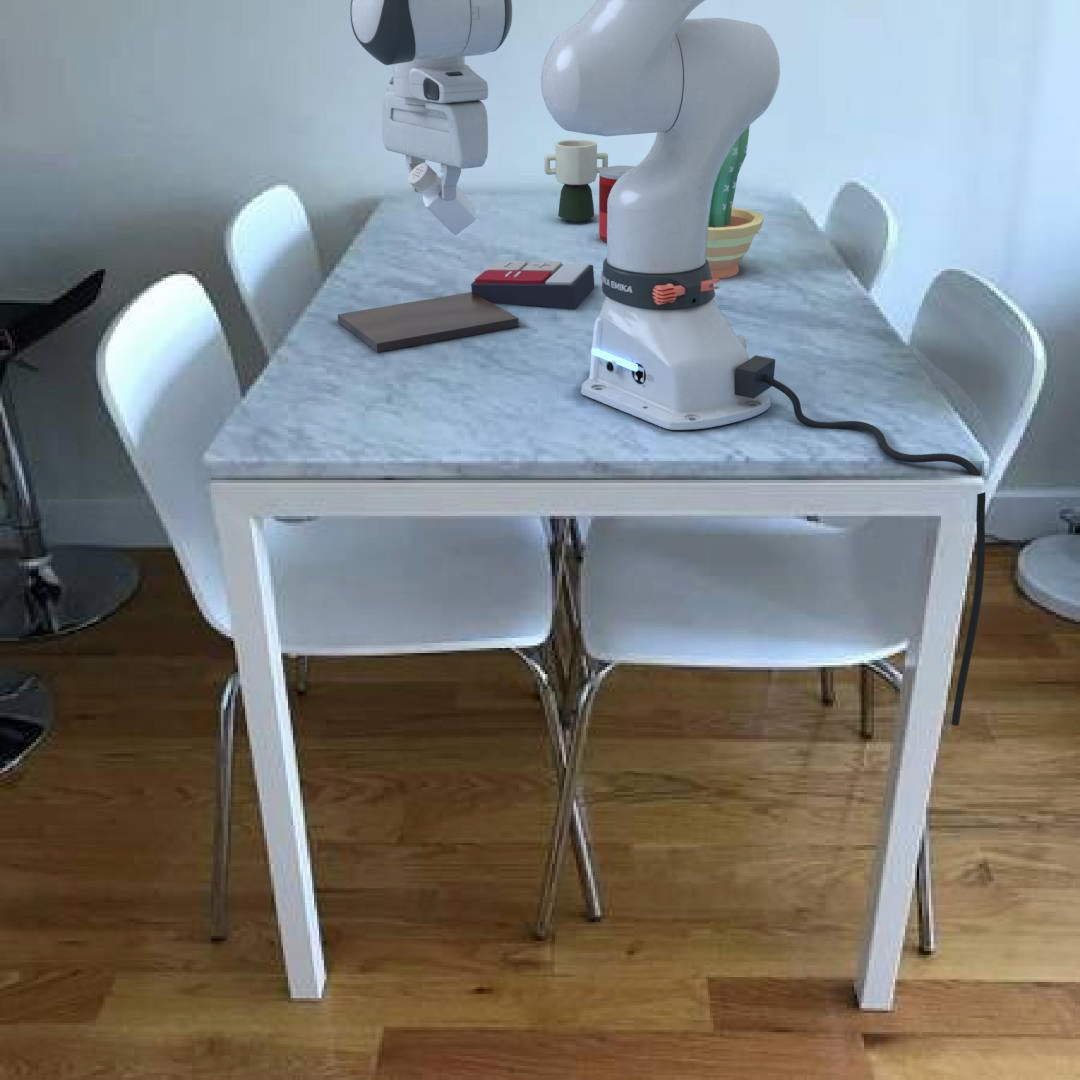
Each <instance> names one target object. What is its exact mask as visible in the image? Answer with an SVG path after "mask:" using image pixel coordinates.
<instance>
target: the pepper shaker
mask: <svg viewBox="0 0 1080 1080" xmlns="http://www.w3.org/2000/svg"><path fill="white" fill-rule="evenodd" d="M442 178H443V175H440V176H439V175H438V174H437V172H436V171H434V169H432V167H431V166H430V165H428V163H427V162H425V163H421V164H419V165H417V166H416V167H415V168H414V169H413V170H412V172H411V173H410V172H409V175H408V179H407V180H408V182H409V184H410V185H411V186H412V187H413V186H414V187H415V188H416V189H417V190H418V192H420V193H419V194H421V195H422V201H423V205H424V207H425V208H426V209H427V210H428V212H430V213H431V214H432V215H433V216H434V217H435V218H436V219H437V221H439V222H440V223H441V224H442V225H443V226H444V227H445V228H446V229H447V230H448V231H449V232H450V233H451V234H453V235H458V234H460V233H461V232H462V231H464V230H465V229H467V228H468V227H469V226H471V225H472V224H474V223H475V222H476V220H477V213H476V208H475V204H474V202H473V200H471V199H470V198H469V197H468V196H467V195H466V193H464V191H463V190H462V189H461V188H460V187H459V186H458V184H457V185H456V198H455V200H450V201H445V200H442V199H440V198H439V197H438V193H439V192H438V185H441V183H442ZM418 192H417V193H418Z"/></svg>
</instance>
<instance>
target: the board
mask: <svg viewBox="0 0 1080 1080" xmlns="http://www.w3.org/2000/svg"><path fill="white" fill-rule="evenodd" d="M337 322H338V324H339V325H340V326H342V327H343V328H344V329H346V330H347V331H348V332H350V333H351V334H352V335H354V336H355V337H356V338H358V339H359V340H360V341H362V342H363V343H364V344H365V345H367V346H368V347H369V348H370V349H372V350H374V351H375V352H376V353H383V352H389V351H393V350H398V349H399V350H400V349H404V348H410V347H415V346H421V345H426V344H432V343H437V342H444V341H448V340H454V339H458V338H465V337H470V336H475V335H481V334H486V333H487V334H488V333H492V332H497V331H502V330H508V329H513V328H519V327H520V326H519V324H520V323H519V317H517V316H516V315H514V314H512V313H511V312H508V311H507V310H505V309H503V308H502V307H500V306H498V305H497V304H493V303H491V302H489V301H487V300H486V299H484V298H482V297H480V296H479V295H477V294H475V293H472V291H470V292H463V293H458V294H452V295H445V296H439V297H433V298H426V299H422V300H416V301H408V302H404V303H397V304H390V305H386V306H380V307H373V308H368V309H362V310H357V311H349V312H344V313H338V314H337Z"/></svg>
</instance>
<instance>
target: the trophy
mask: <svg viewBox="0 0 1080 1080" xmlns="http://www.w3.org/2000/svg"><path fill="white" fill-rule="evenodd" d="M554 147H555V149H554V150H555V154H554V153H553V154H546V155H545V156H544V158H543V159H544V160H543V162H544V163H543V165H544V174H545V175H547V176H549V175H550V176H551V175H552V176H553V175H555V178H556V179H555V180H556V181H557V182H558V183H560V184H563V185H562V187H561V190H560V196H559V204H558V215H557V216H558V217H559V218H560V219H563V220H566V221H567V222H569V221H571V222H583V221H587V220H590V219H592V218H594V216H595V208H594V207H595V206H594V198H593V191H592V188H591V185H590V184H592V183H594V182H596V179H597V177H598V174H600V170H601V169H603V168H605V167H609V154H608V153H606V152H598V142H596V141H593V140H589V139H588V140H587V139H566V140H560V141H557V142H556V143H555V146H554ZM598 160H602V161H601V162H602V163H601V166H598ZM551 161H555V168H551Z"/></svg>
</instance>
